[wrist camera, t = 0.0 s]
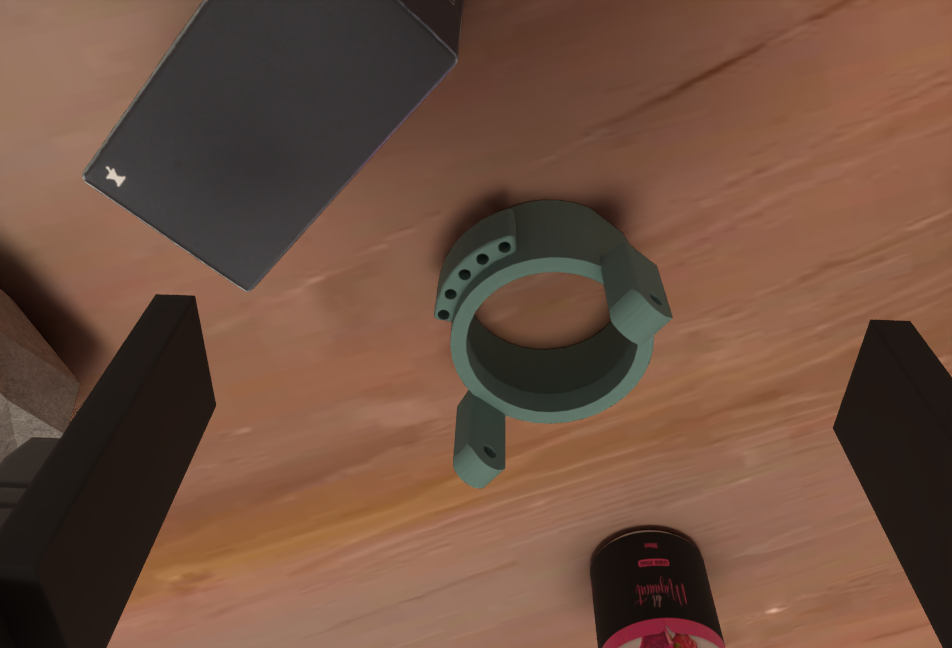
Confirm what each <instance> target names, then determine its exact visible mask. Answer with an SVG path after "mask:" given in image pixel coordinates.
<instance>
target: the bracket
mask: <svg viewBox="0 0 952 648" xmlns="http://www.w3.org/2000/svg"><path fill="white" fill-rule="evenodd" d="M542 272H565V273H572V274H578V275H581V276H584V277H587V278H591V279H594V280H595V281H597V282H599V283H601V284H603V285H604V288H605V293H606V298H607V304H608V309H609V314H610V318H611V322H610V323H609V324H608V325H607V326H606V327H605V328H604V329H603V330H602V331H600V332H599V333H597V334H596V335H594V336H593V337H591V338H589V339H587V340H585V341H583V342H581V343H578V344H576V345H572V346H568V347H565V348H559V349H550V350H541V349H530V348H524V347H519V346H517V345H514V344H511V343H508V342H506V341H504V340H502V339H500V338H498V337H497V336H495V335H493V334H492V333H491V332H490V331H488V330H487V329H486V328H485V327H483V325H482V324H481V323H480V322H479V321H478V320H477V318H476V317H475V316H474V314H475V312H476V310H477V309H478V308H479V307H480V305H481V304H482V303H483V301H484V300H485V299H486V298H487V297H489V296H490V295H491V294H492V293H493V292H494V291H495V290H497V289H499V288H500V287H502V286H504V285H505V284H507V283H509V282H511V281H513V280H516V279H519V278H521V277H524V276H527V275H532V274H537V273H542ZM434 317H435V318H436V319H439V320H446V321H452V328H451V345H450V347H451V353H452V360H453V363H454V365H455V368H456V371H457V373H458V375H459V377H460V378H461V380H462V382H463V383H464V385H465V386H466V387H467V388H468V389H469V390H468V392H467V393H466V395H465V396H464V398H463V399H462V400H461V402H460V403H459V405H458V407H457V417H456V430H455V443H454V457H453V467H454V470H455V472H456V473H457V475H458V476H459V477H460V478H461V479H462V480H463V481H464V482H465V483H466V484H468V485H470V486H472V487H474V488H483V487H485V486H486V485H487V484H488V483H489V482H491V481H492V480H493V479H494V478H495V477H496V476H497V475H498V474H500V473H501V472H502V471H503V470H504V469H505V415H506V416H509V417H512V418H515V419H518V420H523V421H528V422H534V423H551V424H552V423H564V422H571V421H575V420H580V419H584V418H587V417H590V416H592V415H595V414H598V413H600V412H602V411H604V410H606V409H607V408H609V407H611V406H613V405H614V404H616V403H617V402H618V401H620V400H621V399H623V398H624V397H625V396H626V395H627V394H628V393H629V392H630V391H631V390H632V389H633V388H634V387H635V386H636V385H637V383H638V382H639V380H640V379H641V378H642V376H643V375H644V373H645V371H646V369H647V366H648V364H649V362H650V359H651V355H652V351H653V342H654V335H655V334H656V333H657V332H658V331H659V330H660V329H661V328H662V327H663V326H665V325H666V324H667V323H668V322H669V321H670V320H671V319H672V318H673V317H672V314H671V310H670V307H669V304H668V301H667V297H666V294H665V291H664V287H663V284H662V281H661V278H660V274H659V271H658V268H657V266H656V265H655V264H654V263H653V262H651V261H650V260H649V259H647V258H646V257H645V256H643V255H642V254H641V253H640V252H638V251H637V250H636V249H634V248H633V247H632V246H630V244H629V243H628V241H627V239H626V238H625V236H624V235H623V233H622V232H621V231H619V230H618V229H617V228H615V227H614V226H613V225H611V224H610V223H609V222H608V221H606V220H605V219H604V218H602V217H601V216H600V215H598V214H597V213H596V212H594V211H593V210H592V209H591V208H588V207H585V206H582V205H579V204H576V203H572V202H566V201H560V200H539V201H532V202H526V203H522V204H519V205H516V206H513V207H510V208H508V209H505V210H503V211H500V212H497V213H495V214H493V215H491V216H489V217H487V218H485V219H483V220H481V221H479V222H478V223H477V224H475V225H474V226H473V227H471V228H470V229H469V230H467V231H466V232H465V233H464V234H463V235H462V236H461V237H460V238H459V239H458V240H457V242H456V243H455V244H454V245H453V247H452V248H451V250H450V252H449V253H448V255H447V256H446V258H445V261H444V263H443V266H442V268H441V271H440V276H439V282H438V288H437V296H436V304H435V311H434Z"/></svg>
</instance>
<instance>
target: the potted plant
mask: <svg viewBox="0 0 952 648" xmlns="http://www.w3.org/2000/svg"><path fill="white" fill-rule="evenodd" d="M79 386H80V383H79V382H78V380H77V379H76V378H75V376H74V375H73V374H72V373H71V371H70V370H69V369H68V368H67V366H66V365H65V364H64V363H63V361H62V360H61V359H60V358H59V357H58V355H57V354H56V353H55V352H54V350H53V349H52V348H51V347H50V345H49V344H48V343H47V342H46V340H45V339H44V338H43V337H42V336H41V334H40V333H39V332H38V331H37V329H36V328H35V327H34V326H33V324H32V323H31V322H30V321H29V319H28V318H27V317H26V316H25V315H24V313H23V312H22V311H21V310H20V308H19V307H18V306H17V305H16V303H15V302H14V301H13V300H12V299H11V298H10V297H9V296H8V295H7V294H6V293H5V292H4V291H2V290H1V289H0V463H1V462H2V460H3V459H4V458H5V457H6V456H8V455H9V454H10V453H12V452H13V451H14V450H16V449H17V448H18V447H20V446H21V445H22V444H24V443H25V442H26V441H27V440H29V439H30V438H31V437H44V438H61V436H62V435H63V433H64V432H65V430H66V429H67V427H68V425H69V421H70V418H71V414H72V411H73V407H74V404H75V400H76V396H77V393H78V389H79Z"/></svg>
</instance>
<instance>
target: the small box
mask: <svg viewBox="0 0 952 648" xmlns="http://www.w3.org/2000/svg"><path fill="white" fill-rule="evenodd" d="M463 6H464V0H203V1H202V3H201V4H200V6H199V7H198V9H197V10H196V12H195V13H194V15H193V16H192V17H191V19H190V20H189V21H188V23H187V24H186V25H185V27H184V28H183V30H182V31H181V32H180V34H179V35H178V37H177V38H176V40H175V41H174V43H173V44H172V46H171V47H170V48H169V50H168V51H167V53H166V54H165V55H164V57H163V58H162V60H161V61H160V62H159V64H158V65H157V67H156V68H155V70H154V71H153V73H152V74H151V76H150V77H149V79H148V80H147V82H146V83H145V85H144V86H143V87H142V89H141V90H140V91H139V92H138V94H137V95H136V97H135V98H134V100H133V101H132V103H131V104H130V106H129V107H128V108H127V110H126V111H125V112H124V113H123V115H122V116H121V118H120V119H119V121H118V122H117V124H116V125H115V127H114V128H113V129H112V131H111V132H110V134H109V135H108V137H107V138H106V140H105V141H104V142H103V144H102V146H101V147H100V149H99V150H98V151H97V153H96V154H95V155H94V157H93V158H92V160H91V161H90V163H89V164H88V165H87V167H86V168H85V170H84V171H83V174H82V177H83V180H84V182H85V183H86V184H88V185H89V186H91V187H92V188H94V189H95V190H97V191H98V192H100V193H101V194H103V195H105V196H106V197H107V198H109V199H110V200H112V201H114V202H115V203H116V204H118V205H119V206H121V207H122V208H124V209H125V210H126V211H128V212H130V213H131V214H133V215H134V216H135V217H137V218H138V219H139V220H141V221H142V222H144V223H145V224H147V225H148V226H150V227H151V228H153V229H154V230H156V231H157V232H159V233H160V234H161V235H163V236H164V237H166V238H167V239H169V240H170V241H172V242H173V243H174V244H176V245H177V246H179V247H180V248H182V249H183V250H185V251H186V252H188V253H189V254H191V255H192V256H194V257H195V258H196V259H197V260H199V261H201V262H202V263H203V264H205V265H206V266H208V267H209V268H211V269H212V270H214V271H215V272H217V273H218V274H219V275H221V276H223V277H224V278H226V279H227V280H229V281H230V282H232V283H233V284H235V285H236V286H238V287H239V288H240V289H242V290H243V291H246V292H249V291H251V290H252V289H254V288H255V286H256V285H257V284H258V283H259V282H260V281H261V280H262V279H263V277H264V276H265V275H266V274H267V273H268V272H269V271H270V270H271V269H272V268H273V266H274V265H275V264H276V263H277V262H278V261H279V260H280V259H281V257H282V256H283V255H284V254H285V253H286V252H287V251H288V250H289V249H290V248H291V246H292V245H293V244H294V243H295V242H296V241H297V240H298V239H299V238H300V236H301V235H302V234H303V233H304V232H305V231H306V230H307V229H308V227H309V226H310V225H311V224H312V223H313V222H314V221H315V220H316V219H317V217H318V216H319V215H320V214H321V213H322V212H323V211H324V210H325V209H326V207H327V206H328V205H329V204H330V203H331V202H332V201H333V200H334V199H335V197H336V196H337V195H338V194H339V193H340V192H341V191H342V190H343V189H344V187H345V186H346V185H347V184H348V183H349V182H350V181H351V180H352V179H353V178H354V176H355V175H356V174H357V173H358V172H359V171H360V170H361V169H362V168H363V167H364V165H365V164H366V163H367V162H368V161H369V160H370V159H371V158H372V157H373V156H374V154H375V153H376V152H377V151H378V150H379V149H380V148H381V147H382V146H383V145H384V143H385V142H386V141H387V140H388V139H389V138H390V137H391V136H392V135H393V134H394V132H395V131H396V130H397V129H398V128H399V127H400V126H401V125H402V124H403V123H404V121H405V120H406V119H407V118H408V117H409V116H410V115H411V114H412V113H413V112H414V111H415V109H416V108H417V107H418V106H419V105H420V104H421V103H422V102H423V101H424V100H425V98H426V97H427V96H428V95H429V94H430V93H431V92H432V91H433V90H434V89H435V88H436V87H437V85H438V84H439V83H440V82H441V81H442V80H443V79H444V78H445V76H446V75H447V74H448V73H449V72H450V71H451V70H452V69H453V68H454V66H455V65H456V64H457V62H458V52H459V43H460V32H461V24H462V14H463Z"/></svg>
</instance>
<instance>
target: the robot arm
mask: <svg viewBox="0 0 952 648" xmlns="http://www.w3.org/2000/svg"><path fill="white" fill-rule="evenodd" d="M215 407H216V402H215V397H214V392H213V387H212V381H211V376H210V371H209V366H208V361H207V355H206V350H205V345H204V340H203V335H202V330H201V324H200V319H199V314H198V309H197V304H196V299H195V296H187V295H159V294H156V295H155V296H154V298H153V299H152V301H151V302H150V304H149V305H148V307H147V308H146V310H145V311H144V313H143V314H142V316H141V318H140V319H139V321H138V322H137V324H136V325H135V327H134V328H133V330H132V331H131V333H130V334H129V336H128V337H127V339H126V340H125V342H124V343H123V345H122V346H121V348H120V349H119V351H118V352H117V354H116V355H115V357H114V358H113V360H112V361H111V363H110V364H109V366H108V367H107V369H106V370H105V372H104V373H103V375H102V376H101V378H100V379H99V381H98V382H97V384H96V385H95V387H94V388H93V390H92V391H91V393H90V394H89V396H88V397H87V399H86V400H85V402H84V403H83V405H82V406H81V408H80V409H79V411H78V412H77V414H76V415H75V417H74V418H73V420H72V421H71V423H70V424H69V426H68V427H67V429H66V430H65V432H64V433H63V435H62V436H61V438H44V437H31V438H30V439H29V440H27V441H26V442H25V443H24V444H22V445H21V446H20V447H18V448H17V449H16V450H14V451H13V452H12V453H10V454H9V455H8V456H6V457H5V458H4V459H3V460H2V462H1V463H0V648H106V647H107V645H108V643H109V641H110V639H111V636H112V634H113V632H114V630H115V628H116V625H117V623H118V621H119V619H120V617H121V614H122V612H123V610H124V608H125V606H126V603H127V601H128V599H129V597H130V595H131V592H132V590H133V588H134V586H135V583H136V581H137V579H138V577H139V575H140V572H141V570H142V568H143V566H144V564H145V561H146V559H147V557H148V555H149V553H150V550H151V548H152V546H153V544H154V542H155V539H156V537H157V535H158V533H159V531H160V528H161V526H162V524H163V522H164V520H165V517H166V515H167V513H168V511H169V508H170V506H171V504H172V502H173V500H174V497H175V495H176V493H177V491H178V489H179V486H180V484H181V482H182V480H183V478H184V475H185V473H186V471H187V469H188V467H189V464H190V462H191V460H192V458H193V456H194V453H195V451H196V449H197V447H198V444H199V442H200V440H201V438H202V436H203V433H204V431H205V429H206V427H207V425H208V422H209V420H210V418H211V416H212V414H213V411H214V409H215ZM833 429H834V431H835V433H836V435H837V437H838V439H839V441H840V443H841V445H842V447H843V449H844V451H845V453H846V455H847V457H848V459H849V461H850V463H851V465H852V467H853V469H854V471H855V473H856V475H857V477H858V479H859V481H860V483H861V485H862V487H863V489H864V491H865V493H866V495H867V497H868V499H869V501H870V503H871V505H872V507H873V509H874V511H875V513H876V515H877V517H878V519H879V521H880V523H881V525H882V527H883V529H884V531H885V533H886V535H887V537H888V539H889V541H890V543H891V545H892V547H893V549H894V551H895V553H896V555H897V557H898V559H899V561H900V563H901V565H902V567H903V569H904V571H905V573H906V575H907V577H908V579H909V581H910V583H911V585H912V587H913V589H914V591H915V593H916V595H917V597H918V599H919V601H920V603H921V605H922V607H923V609H924V611H925V613H926V615H927V617H928V619H929V621H930V623H931V625H932V627H933V629H934V631H935V633H936V635H937V637H938V639H939V641H940V643H941V645H942V647H943V648H952V377H951V376H950V374H949V373H948V372H947V370H946V369H945V368H944V366H943V365H942V363H941V362H940V361H939V359H938V358H937V357H936V355H935V354H934V353H933V351H932V350H931V349H930V347H929V346H928V345H927V343H926V342H925V340H924V339H923V338H922V336H921V335H920V334H919V332H918V331H917V330H916V328H915V327H914V326H913V324H912V323H911V322H910V321H894V320H870V322H869V325H868V328H867V331H866V334H865V337H864V340H863V343H862V345H861V348H860V351H859V354H858V357H857V360H856V363H855V366H854V368H853V371H852V374H851V377H850V380H849V383H848V386H847V389H846V392H845V394H844V397H843V400H842V403H841V406H840V409H839V412H838V415H837V418H836V420H835V423H834V426H833Z"/></svg>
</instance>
